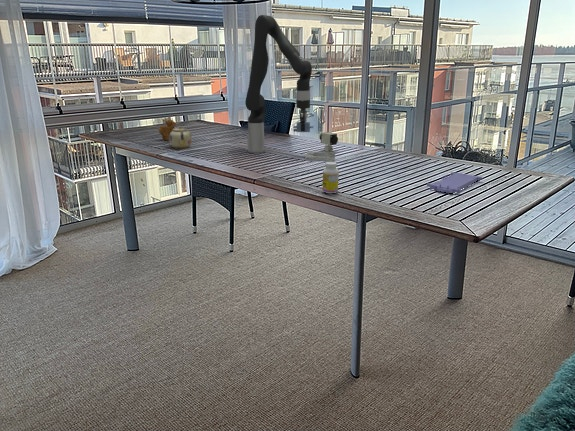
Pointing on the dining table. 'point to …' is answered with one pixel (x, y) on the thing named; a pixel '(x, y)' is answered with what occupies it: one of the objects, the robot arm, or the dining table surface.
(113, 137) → the dining table surface
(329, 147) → the pneumatic valve
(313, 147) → the dining table surface
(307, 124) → the block
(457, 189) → the computer part
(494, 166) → the dining table surface
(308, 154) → the plate
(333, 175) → the supplement bottle
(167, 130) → the stuffed squirrel
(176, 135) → the teapot
